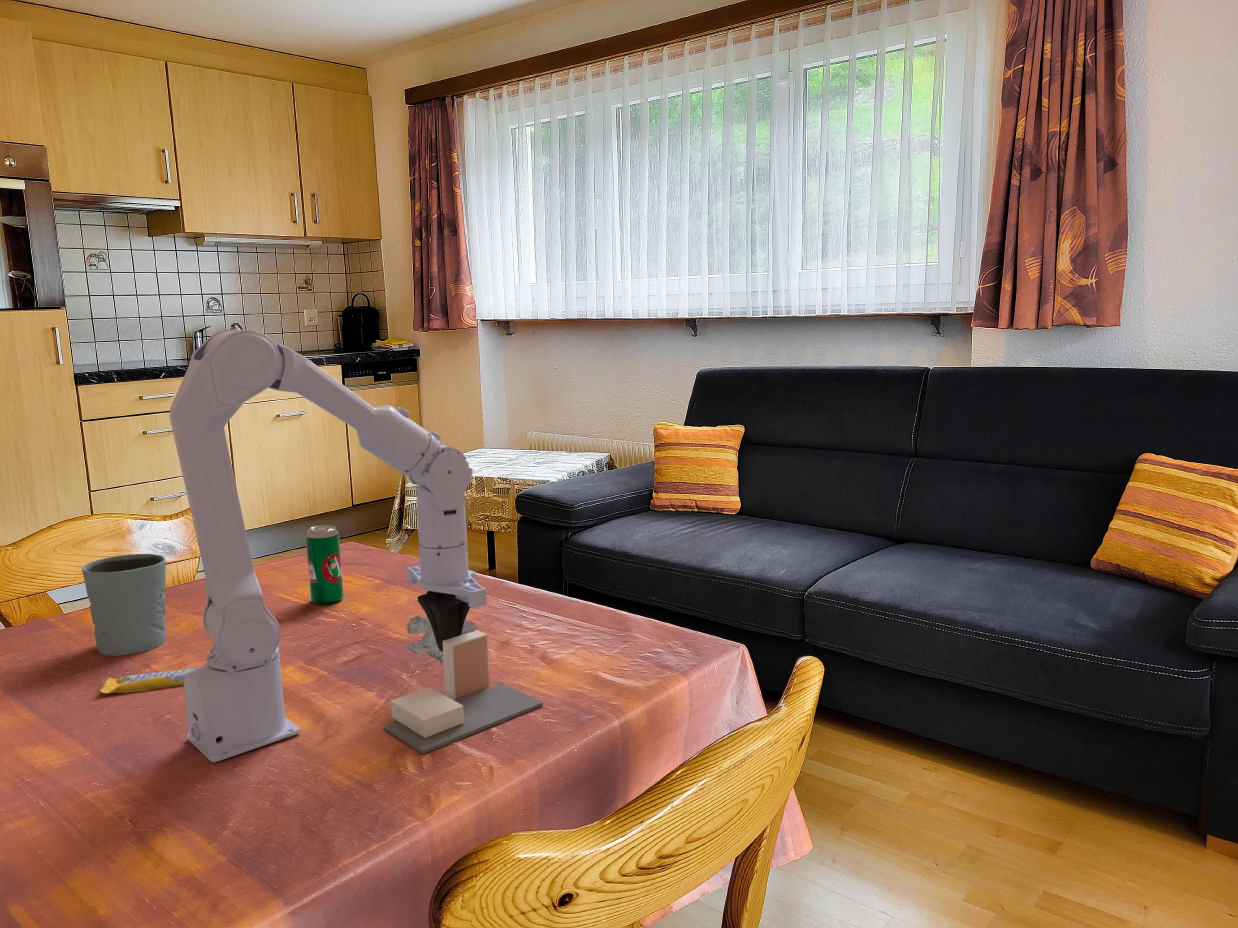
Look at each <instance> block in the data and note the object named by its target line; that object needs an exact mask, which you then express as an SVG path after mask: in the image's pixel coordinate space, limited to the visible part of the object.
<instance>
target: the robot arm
mask: <svg viewBox="0 0 1238 928" xmlns="http://www.w3.org/2000/svg"><path fill="white" fill-rule="evenodd" d="M266 389H271V390H275V391H278V392H287V393H297V394H298V395H299V396H301V397H302V398H305V399H306V400H308V401H310V402H311V403H313V404H314V405H315V406H317V407H319V408H320V409H323V410H324V411H325V412H327V413H329V414H330V415H332V416H334V417H336V418H337V419H339V420H340V421H342V422H343V423H345V424H346V425H349V426H350V427H352V428H353V429H355V430H356V433H357V437H358V443H359V445H360V447H361V448H362V449H364V450H365V451H367V452H369V453H370V454H372V455H373V456H375V457H376V458H378V459H379V460H381V461H383V462H384V463H385V464H387V465H388V466H390V467H392V468H393V469H394V470H396V471H398V472H399V473H401V474H402V475H404V476H407V477H408V479H409V481H410V482H411V484H413V485H417V486H416V488H415V489H416V491H415V492H416V512H417V513H416V514H417V515H416V517H417V533H418V548H419V549H418V550H419V551H418V553H419V565H415V566H410V567H407V568H406V570H407V574H406V575H407V583H409V584H418V585H419V586H418V587H420V588H421V589H422V590H424V591H426V593H424V594H421V595H419V596H417V602H418V604H419V605H420V606H421V608H422V610H423V611H424V613H425V616H426V617H427V619H428V620H429V622H430V624H431V627H432V630H433V633H434V636H435V639H436V643H437V646H438V648H439V650H440V651H442V652H443V641H444V640H448V639H451V638H454V637H457V636H461V634H462V629H463V625H464V622H466V619H467V616H468V613H469V612H470V610H471V608H472V609H475V608H477V607H478V608H479V607H482V606H485V605H487V604H488V601H487V599H488V598H487V588H486V587H483V586H481V585H480V584H479V583H478V582H477V581H476V580H475V579H476V578H477V573H476V571H473V570H470V569H469V557H468V556H469V554H468V551H469V550H468V533H467V513H466V512H467V511H466V497H465V496H466V495H465V492H466V489H467V487H468V486H469V485H470V483H471V480H472V477H473V468H471V467H470V465H469V461H467V457H466V456H465V454H464V453H463V452H462V451H460V450H458V449H457V448H454V447H452V446H449V445H445V444H442V443H441V439H442V435H441V434H439V433H438V432H436V431H431V432H430V431H428V430H427V429H425V428H424V427H422V426H421V425H419V424H418V423H416V422H415V421H414V420H412V419H410V418H409V417H410V416H411V412H410V411H409V410H407V409H406V408H404V407H402V406H397V407H396V408H395V407H394V406H392V405H391V404H390V405H389V404H386V405H381V406H376V407H373V406H372V405H370V404H369V403H368V402H367V401H365V399H362V398H361V397H360V396H358V395H357V394H356V393H354V392H353V391H352V390H350V389H349V388H348V387H346V386H345V385H344V384H342V383H341V382H340V381H338V380H337V379H335V378H334V377H333V376H331V375H330V374H329V373H327V372H326V371H325V370H323V369H322V368H321V367H319V366H318V365H317V364H315V363H314V362H312V361H311V360H309V359H308V358H307V357H305V356H304V355H302V354H300V353H298V352H296V351H295V350H294V349H291V348H289V347H287V346H285V345H283V344H281V343H275V342H274V341H273V340H272V339H271V338H270V337H269V336H268V335H266V334H264V333H262V332H259V331H257V330H252V329H240V330H239V329H233V328H231V329H230V328H229V329H222V330H219V331H217V332H215V333H213V334H212V335H210V336H209V337H208V338H207V339H206V340H205V341H204V342H202V344H201V345H200V346H199V347H198V348H197V349H196V350H195V351H194V352H193V353H192V354H191V357H190V361H189V363H188V367H187V370H186V371H185V373H184V376H183V378H182V381H181V383H180V385H179V387H178V389H177V392H176V394H175V396H174V398H173V401H172V403H171V406H170V408H169V421H170V424H171V425H170V426H171V430H172V434H173V439H174V443H175V447H176V451H177V457H178V462H179V465H180V469H181V474H182V478H183V483H184V488H185V492H186V496H187V501H188V505H189V509H190V514H191V518H192V523H193V527H194V531H195V536H196V539H197V544H198V549H199V555H200V558H201V562H202V566H203V570H204V576H205V577H204V579H205V580H204V589H205V593H206V603H205V607H204V611H203V615H202V623H203V627H204V629H205V631H206V633H207V635H209V636H210V637H211V639H212V641H213V645H211V648H210V651H209V653H208V654H207V655H206V663H205V664H203V665H202V666H200V667H197V668H198V669H196V670H194V671H191V672H189V673H187V674H186V675H185V678H184V685H183V690H184V691H183V692H184V693H183V695H184V701H185V711H186V721H187V729H188V730H187V731H188V733H187V735H186V737H187V739H188V742H190V743H191V744H192V745H193V746H194V747H196V748H197V749H198V751H199V752H200V753H201V754H203V756H205V758H206V759H208V760H209V761H210V762H211V763H217V762H220V761H222V760H226V759H229V758H231V757H235V756H237V755H240V754H243V753H246V752H249V751H251V750H255V749H257V748H261V747H264V746H266V745H269V744H272V743H275V742H278V741H281V740H284V739H287V738H289V737H292V736H295V735H298V734H299V733H301V728H300V727H299V726H298V725H296V724H295V723H294V722H293V721H291V720H290V719H288V717H286V714H285V713H286V712H285V700H284V692H283V691H284V689H283V680H282V679H283V678H282V667H281V666H282V665H281V656H280V648H279V644H280V641H281V627H280V623H279V622H278V620H277V618H276V617H275V616H274V615H273V614H272V613H271V612H270V610H269V609H268V608H267V606H266V603H265V598H264V594H263V592H262V588H261V586H260V583H259V580H258V578H257V575H256V572H255V569H254V563H253V559H252V558H253V557H252V553H251V548H250V544H249V540H248V535H247V531H246V526H245V523H244V522H245V520H244V517H243V516H244V515H243V512H242V508H241V506H242V505H241V503H240V499H239V498H240V496H239V493H238V488H237V483H236V480H235V474H234V469H233V465H232V460H231V455H230V450H229V445H228V442H227V437H226V432H225V427H226V425H227V423H228V422H229V421H230V420H231V419H232V418H233V416H234V415H235V414H236V413H237V412H238V410H239V409H240V408H241V407H242V406H243V404H244V403H246V402H247V401H249V400H251V399H252V398H254V397H255V396H257V395H259V394H260V393H262V392H264V391H266Z"/></svg>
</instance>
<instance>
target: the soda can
mask: <svg viewBox="0 0 1238 928" xmlns="http://www.w3.org/2000/svg"><path fill="white" fill-rule="evenodd" d="M305 544H306V545H305V547H306V558H307V567H308V568H307V569H308V570H307V572H308V582H309V584H308V585H309V593H310V594H309V596H310V600H311V602H312V603H314V604H316V605H321V606H322V605H331V604H335V603H338V602H340V601H341V600H342V599H343V597H344V585H343V581H344V580H343V569H342V556H341V555H342V554H341V541H340V533H339V531H338V530H337V527H336V525H335V526H334V525H327V524H325V525H317V526H312V527H310V528H308V529H307V534H306V535H305Z"/></svg>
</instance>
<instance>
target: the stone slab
mask: <svg viewBox="0 0 1238 928" xmlns="http://www.w3.org/2000/svg"><path fill="white" fill-rule="evenodd" d="M408 621H409V622H408V631H407V632H408V634H409V635H411V636H412V635H420V634H423V633H424V635H423V637H422V638H421V640H420V641H418V642H417V641H416V640H414V641H415V642H414V641H413V642H411V643H410V644H408V645H407V647H406V648H405V650H406V651H411V652H412V653H413V654H415V655H418V654H419V655H418V656H421V655H422V653H426V654H427V655H429V657H430V658H434V659H435V660H439V663H440V664H442V665H444V658H443V652H442V651H440V650H439V648H438V646H437V643H436V639H435V636H434V633H433V630H432V627H431V624H430V622H429V619H428V618H426V617H424V616H421V615H415V616H414V617H409V620H408ZM473 631H476V624H475V623H474V622H472V621H465V622H464V625H463V629H462V634H461V635H464V634H467V633H470V632H473ZM409 639H410V637H408V636H407V637H406V641H408V640H409ZM412 666H415V664H413V665H412Z"/></svg>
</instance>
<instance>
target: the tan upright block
mask: <svg viewBox="0 0 1238 928" xmlns="http://www.w3.org/2000/svg"><path fill="white" fill-rule="evenodd" d="M488 645H489V644H488V634H487V633H486V632H482V631H480V630H479V629H478V630H475V631H473V632H470V633H467V634H464V635H461V636H457V637H454V638H451V639H448V640H444V641H443V658H444V664H443V673H444V688H445V689H444V693H445V694H444V695H445V696H446V697H448V698H450V699H452V700H456V699H459V698H462V697H464V696H467V695H470V694H473V693H475V692H478V691H481V690H484V689H486V688H489V687H491V686H490V671H489V647H488Z"/></svg>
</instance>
